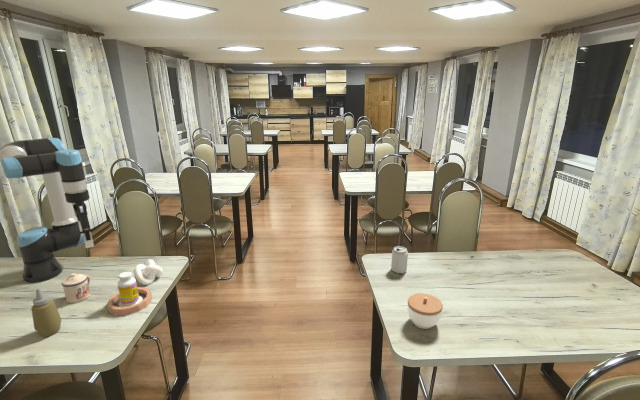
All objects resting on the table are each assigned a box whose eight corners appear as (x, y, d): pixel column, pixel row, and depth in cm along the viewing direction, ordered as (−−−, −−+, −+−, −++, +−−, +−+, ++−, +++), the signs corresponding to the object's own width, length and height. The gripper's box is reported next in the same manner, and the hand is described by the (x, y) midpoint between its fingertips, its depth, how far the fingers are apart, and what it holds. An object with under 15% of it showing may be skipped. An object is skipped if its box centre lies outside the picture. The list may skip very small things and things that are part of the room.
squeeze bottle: (33, 341, 124) (20, 298, 119) (40, 328, 131) (28, 286, 126) (60, 335, 127) (48, 292, 122) (66, 322, 134) (54, 281, 129)
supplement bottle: (136, 305, 143) (131, 277, 139) (119, 306, 142) (113, 279, 138) (141, 296, 150) (136, 269, 146) (124, 297, 148) (119, 271, 145)
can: (390, 266, 175) (392, 244, 171) (405, 267, 174) (407, 245, 170) (391, 274, 168) (392, 251, 164) (407, 275, 167) (409, 252, 163)
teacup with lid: (80, 304, 146) (73, 280, 142) (60, 302, 147) (54, 278, 143) (101, 289, 157) (95, 266, 153) (82, 287, 158) (77, 264, 154)
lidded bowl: (403, 312, 139) (405, 288, 136) (434, 313, 139) (437, 288, 135) (410, 333, 127) (412, 307, 124) (444, 334, 127) (447, 308, 123)
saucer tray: (106, 301, 147) (105, 295, 147) (147, 288, 157) (146, 283, 156) (112, 320, 135) (111, 314, 134) (156, 305, 145) (155, 299, 144)
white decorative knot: (149, 289, 156) (145, 272, 153) (128, 285, 160) (125, 267, 157) (167, 277, 166) (164, 260, 164) (147, 273, 170) (144, 256, 167)
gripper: (92, 197, 125) (103, 249, 132) (83, 181, 144) (93, 228, 151) (67, 201, 121) (80, 255, 128) (61, 184, 139) (72, 232, 146)
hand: (87, 241), depth 139 cm, fingers open, 13 cm apart
